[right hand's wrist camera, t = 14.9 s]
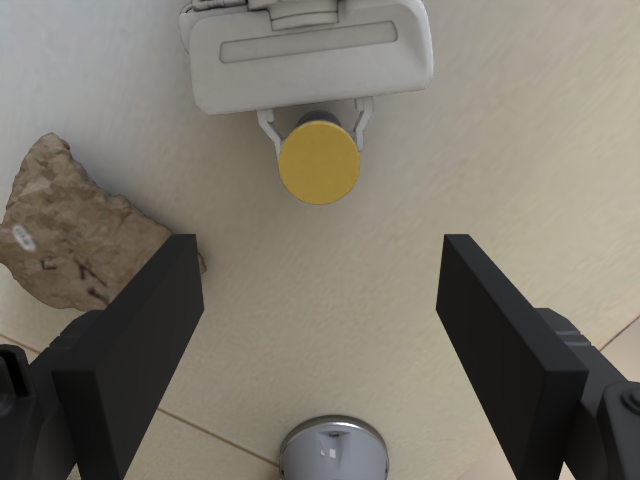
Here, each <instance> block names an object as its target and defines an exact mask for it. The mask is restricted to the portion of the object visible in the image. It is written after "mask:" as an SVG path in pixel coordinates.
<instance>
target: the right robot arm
mask: <svg viewBox="0 0 640 480" xmlns="http://www.w3.org/2000/svg"><path fill="white" fill-rule="evenodd" d="M203 311H204V303H203V294H202V285H201V277H200V268H199V259H198V251H197V242H196V234H171V235H170V237H169V238H168V239H167V240H166V241H165V242H164V243H163V244H162V246H161V247H160V248H159V249H158V250H157V251H156V252H155V253H154V255H153V256H152V257H151V258H150V259H149V260H148V261H147V262H146V264H145V265H144V266H143V267H142V268H141V269H140V270H139V271H138V273H137V274H136V275H135V276H134V277H133V278H132V279H131V280H130V282H129V283H128V284H127V285H126V286H125V287H124V288H123V289H122V291H121V292H120V293H119V294H118V295H117V296H116V297H115V298H114V300H113V301H112V302H111V303H110V304H109V305H108V306H107V307H106V309H92V310H90V311H88V312H87V313H85V314H83V315H82V316H80V317H78V318H76V319H75V320H73V321H72V322H71V323H70V324H69V325H68V326H67V327H66V328H65V329H64V330H63V331H62V332H61V333H60V336H57V337H56V338H55V339H54V340H53V341H52V342H51V343H50V344H49V347H47V348H46V349H45V350H44V351H43V352H42V353H41V354H40V355H39V356H38V357H37V358H36V359H35V360H34V361H33V362H32V363H31V364H30V365H29V364H28V360H27V357H26V354H25V351H24V350H23V349H22V348H20V347H19V346H16V345H8V344H2V345H0V480H66V479H67V477H68V475H69V474H70V472H71V470H72V469H73V467H74V466H75V464H76V462H77V466H78V469H79V473H80V476H81V480H123V479H124V477H125V475H126V472H127V470H128V468H129V466H130V464H131V462H132V460H133V458H134V456H135V454H136V451H137V449H138V447H139V445H140V443H141V441H142V439H143V437H144V435H145V433H146V431H147V428H148V426H149V424H150V422H151V420H152V418H153V416H154V414H155V412H156V410H157V407H158V405H159V403H160V401H161V399H162V397H163V395H164V393H165V391H166V389H167V387H168V384H169V382H170V380H171V378H172V376H173V374H174V372H175V370H176V368H177V366H178V364H179V361H180V359H181V357H182V355H183V353H184V351H185V349H186V347H187V345H188V343H189V340H190V338H191V336H192V334H193V332H194V330H195V328H196V326H197V324H198V322H199V320H200V317H201V315H202V313H203ZM436 311H437V313H438V315H439V317H440V320H441V322H442V324H443V326H444V328H445V330H446V332H447V334H448V336H449V338H450V340H451V343H452V345H453V347H454V349H455V351H456V353H457V355H458V357H459V359H460V361H461V364H462V366H463V368H464V370H465V372H466V374H467V376H468V378H469V380H470V382H471V384H472V387H473V389H474V391H475V393H476V395H477V397H478V399H479V401H480V403H481V405H482V407H483V410H484V412H485V414H486V416H487V418H488V420H489V422H490V424H491V426H492V428H493V431H494V433H495V435H496V437H497V439H498V441H499V443H500V445H501V447H502V449H503V451H504V453H505V456H506V458H507V460H508V462H509V464H510V466H511V468H512V470H513V472H514V475H515V477H516V479H517V480H559V476H560V473H561V469H562V466H563V462H565V463H566V465H567V467H568V468H569V470H570V471H571V473H572V475H573V476H574V478H575V479H576V480H640V383H639V382H632V381H628V380H627V379H626V378H625V377H624V376H623V375H622V374H621V373H620V372H619V371H618V370H617V369H616V368H615V367H614V366H613V365H612V364H611V363H610V362H609V361H608V360H607V359H606V358H605V357H604V356H603V355H602V354H601V353H600V352H599V351H598V350H597V349H596V348H595V347H594V346H591V342H590V341H589V340H588V339H587V338H586V337H585V336H584V335H581V334H580V331H579V330H578V329H577V328H576V327H575V326H574V325H573V324H572V323H571V322H570V321H569V320H568V319H566V318H565V317H563V316H561V315H560V314H558V313H556V312H554V311H553V310H551V309H549V308H534V307H533V306H532V305H531V304H530V303H529V302H528V301H527V300H526V298H525V297H524V296H523V295H522V294H521V293H520V292H519V291H518V289H517V288H516V287H515V286H514V285H513V284H512V283H511V282H510V280H509V279H508V278H507V277H506V276H505V275H504V274H503V273H502V271H501V270H500V269H499V268H498V267H497V266H496V265H495V264H494V262H493V261H492V260H491V259H490V258H489V257H488V256H487V255H486V253H485V252H484V251H483V250H482V249H481V248H480V247H479V246H478V244H477V243H476V242H475V241H474V240H473V239H472V238H471V237H470V235H469V234H444V242H443V251H442V259H441V268H440V277H439V285H438V294H437V303H436ZM279 470H280V475H281V478H282V480H386V479H387V476H388V471H389V459H388V453H387V448H386V444H385V442H384V440H383V438H382V437H381V435H380V434H379V433H378V432H377V431H376V430H375V429H374V428H373V427H371V426H370V425H369V424H367V423H365V422H363V421H361V420H358V419H356V418H352V417H348V416H340V415H328V416H321V417H317V418H313V419H310V420H308V421H306V422H304V423H302V424H300V425H298V426H297V427H296V428H294V429H293V430H292V431H291V432H290V433H289V434H288V436H287V437H286V438H285V440H284V442H283V444H282V447H281V453H280V462H279Z"/></svg>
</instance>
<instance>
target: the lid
mask: <svg viewBox="0 0 640 480" xmlns="http://www.w3.org/2000/svg"><path fill="white" fill-rule="evenodd" d="M278 169H279V174H280V177H281V180H282V182H283V184H284V186H285V187H286V189H287V190H288V191H289V192H290V193H291V194H292V195H293V196H294V197H296V198H298V199H299V200H301V201H303V202H306V203H310V204H317V205H321V204H329V203H332V202H335V201H337V200H339V199H340V198H342V197H344V196H345V195H346V194H347V193H348V192H349V191H350V190H351V189H352V187H353V186H354V184H355V182H356V180H357V177H358V174H359V169H360V159H359V154H358V151H357V148H356V146H355V144H354V142H353V140H352V138H351V137H350V136H349V134H348V133H347V132H346V131H345V130H344V129H342V128H341V127H339V126H338V125H336V124H333V123H331V122H327V121H311V122H307V123H304V124H302V125H300V126H299V127H297V128H296V129H294V130H293V131H292V132H291V133H290V134H289V135H288V137H287V138H286V140H285V142H284V144H283V146H282V148H281V150H280V154H279V159H278Z"/></svg>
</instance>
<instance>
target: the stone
mask: <svg viewBox="0 0 640 480" xmlns="http://www.w3.org/2000/svg"><path fill="white" fill-rule="evenodd" d="M69 148H70V147H69V144H68V143H67V142H66V141H64V140H62V139H60V138H59V137H58V136H57V135H55V134H54V133H49V134H47V135H44V136H42V137H41V138H40V139H39V140H38V141H37V142H36V143H35V144H34V145H33V146H32V147H31V148H30V150H29V152H28V154H27V155H26V156H25V158H24V160H23V162H22V164H21V167H20V171H19V173H18V174H17V175H16V176H15V181H14V183H13V188H12V193H11V195H10V198H9V201H8V203H7V205H6V213H5V216H4V220H3V222H2V224H0V263H2V264H4V265H5V266H7V268H8V269H9V270H10V271H11V273H12V275H13V278H14V279H16V280H17V281H18V282H19V284H20V285H21V286H22V287H23V288H24V289H25V290H26V291H28V292H29V293H30V294H31V295H33V296H34V297H35V298H36V299H38V300H39V301H41V302H42V303H44V304H47V305H49V306H51V307H53V308H57V309H64V308H76V309H78V310H80V311H84V312H88V311H90V310H92V309H106V307H107V306H108V305H109V304H110V303H111V302H112V301H113V300H114V298H115V297H116V296H117V295H118V294H119V293H120V292H121V291H122V289H123V288H124V287H125V286H126V285H127V284H128V283H129V282H130V280H131V279H132V278H133V277H134V276H135V275H136V274H137V273H138V271H139V270H140V269H141V268H142V267H143V266H144V265H145V264H146V262H147V261H148V260H149V259H150V258H151V257H152V256H153V255H154V253H155V252H156V251H157V250H158V249H159V248H160V247H161V246H162V244H163V243H164V242H165V241H166V240H167V239H168V238H169V237H170V235H171V234H173V232H172V231H171V229H169V228H167V227H165V226H163V225H160V224H159V223H156V222H154V221H152V220H150V219H148V218H147V217H146V216H145V215H144V214H143V212H142V211H140V210H138V209H136V208H135V207H134V206H133V205H132V204H131V203H130V202H129V201H128V200H127V198H125V197H124V196H123V195H118V196H115V197H114V196H111V195H110V194H109V193H108V191H106V190H104V189H100V188H99V187H98V186H97V185H96V183H95V181H94V180H93V179H91V178H89V177H88V176H87V173H86V170H85V169H84V167H83V166H82V165H81V164H80V163H79V162H77V161H76V160H74V159H73V157H72V155H71V154H70V151H69ZM198 259H199V268H200V274H202V273H204V272H205V271H206V270H207V269H206V266H205V263H204V259H203V257H201V255H200V254H199V253H198Z"/></svg>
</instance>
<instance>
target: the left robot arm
mask: <svg viewBox="0 0 640 480" xmlns="http://www.w3.org/2000/svg"><path fill="white" fill-rule="evenodd" d="M191 2H192V3H189V4H188V5H186V6H185V7H184V8H183V9H182V11H181V13H180V15H179V20H178V23H179V30H180V34H181V39H182V43H183V46H184V48H185V50H186V51H187V52H188V54H189V58H190V73H191V82H192V90H193V97H194V102H195V105H196V107H197V108H198V109H199V110H200V111H201V112H203V113H204V114H205V115H206V116H212V115H221V114H229V113H237V112H245V111H254V110H256V111H257V117H258V123H259V125H260V126H261V127H262V129H263V130H264V131H265V133H266V134H267V135H268V136H269V138H270V139H271V140H272V141H273V142H274V144H275V150H276V157H277V161H278V159H279V154H280V150H281V148H282V146H283V144H284V142H285V140H286V138H283V137H282V136H281V134H280V133H279V132H278V130H277V129H276V128H275V126H274V125H273V124H272V122H273V121H274V120H275V119H276V113H275V108H278V107H286V106H295V105H303V104H311V103H319V102H328V101H336V100H344V99H352V98H354V101H355V109H356V110H357V111H358V112H359V111H361V112H360V115H359V117H358V119H357V121H356V124H355V126H354V128H353V130H348V131H346V132H347V133H348V134H349V136H350V137H351V138H352V140H353V142H354V144H355V146H356V148H357V151H363V139H362V131H364V129H365V126H366V124H367V122H368V120H369V118H370V116H371V114H372V111H373V101H372V96H377V95H385V94H393V93H402V92H410V91H418V90H424V89H425V88H426V87H427V86H428V84H429V83H430V81H431V79H432V78H433V73H434V65H433V51H432V41H431V33H430V27H429V21H428V16H427V12H426V9H425V7H424V5H423V3H422V1H421V0H191ZM247 3H248V5H249V8H248V6H247ZM192 8H193V9H194V11H197V12H192V13H187V12H188V11H189V10H190V9H192ZM218 8H222V9H218ZM211 9H215V10H211ZM249 11H250V12H249Z"/></svg>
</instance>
